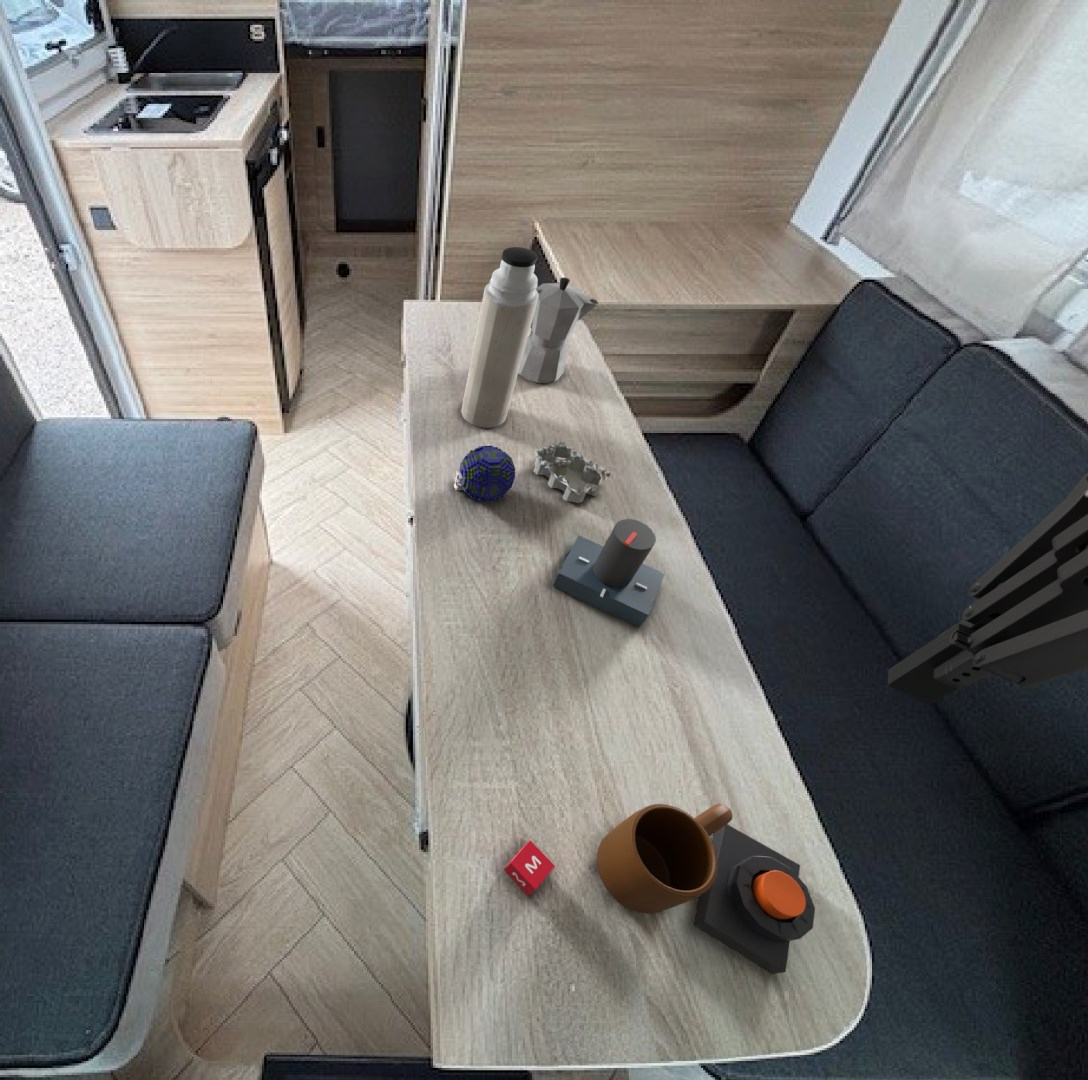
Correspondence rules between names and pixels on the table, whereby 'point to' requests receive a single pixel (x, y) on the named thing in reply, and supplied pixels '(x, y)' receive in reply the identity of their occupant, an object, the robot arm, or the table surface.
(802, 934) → the push button switch
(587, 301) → the coffeepot
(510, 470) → the ball
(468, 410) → the thermos bottle
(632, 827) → the mug
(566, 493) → the grey jagged hollow block
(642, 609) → the dial panel
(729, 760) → the table surface
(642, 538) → the temp dial
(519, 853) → the dice
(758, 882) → the round orange button
